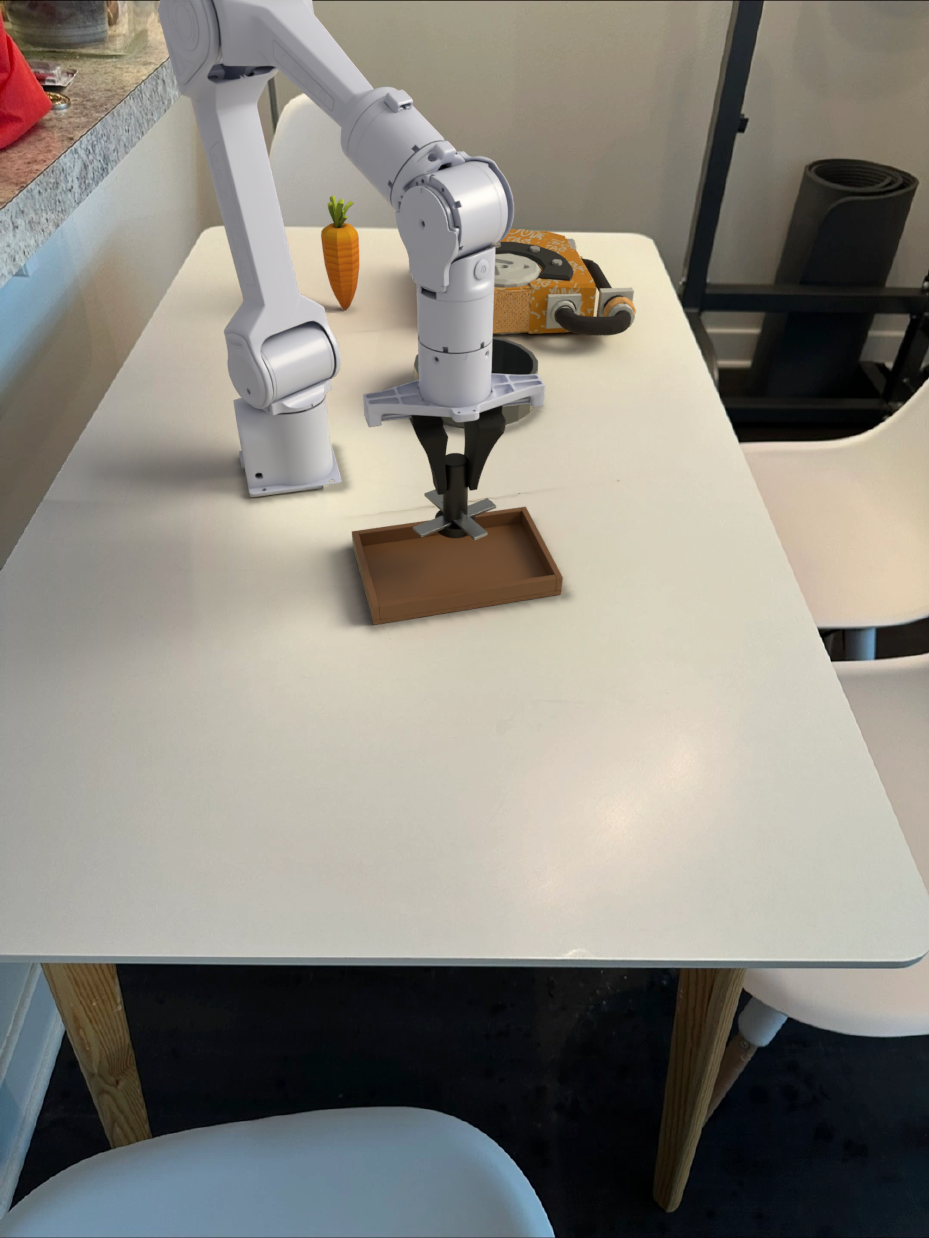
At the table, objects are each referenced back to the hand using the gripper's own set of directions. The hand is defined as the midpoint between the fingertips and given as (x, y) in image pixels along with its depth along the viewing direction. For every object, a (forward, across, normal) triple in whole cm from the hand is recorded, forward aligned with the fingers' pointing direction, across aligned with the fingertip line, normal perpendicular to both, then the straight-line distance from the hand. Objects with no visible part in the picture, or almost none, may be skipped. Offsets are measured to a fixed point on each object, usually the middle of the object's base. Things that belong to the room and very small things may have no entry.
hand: (454, 486), depth 79 cm
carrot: (+9, -1, +59) cm, 60 cm away
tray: (+9, 0, 0) cm, 9 cm away
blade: (+4, 0, 0) cm, 4 cm away
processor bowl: (+9, +10, +30) cm, 33 cm away
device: (+10, +24, +52) cm, 58 cm away
